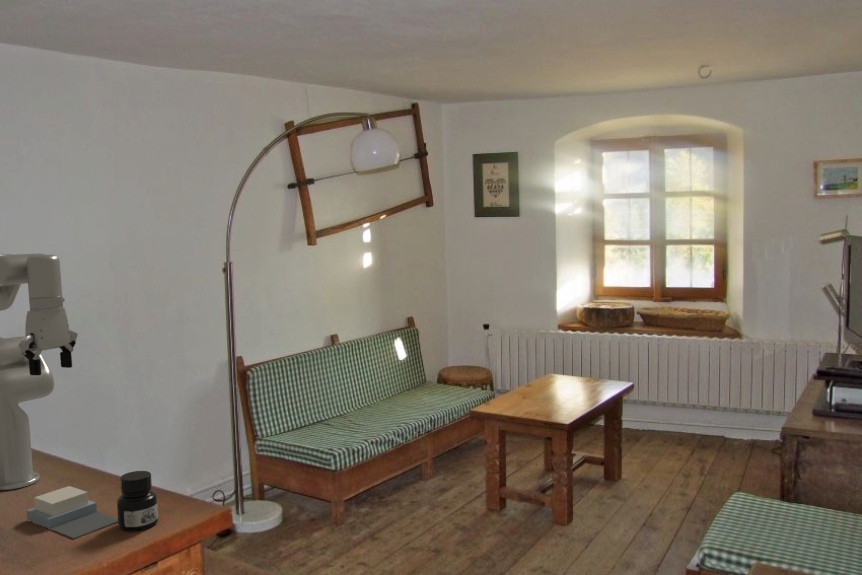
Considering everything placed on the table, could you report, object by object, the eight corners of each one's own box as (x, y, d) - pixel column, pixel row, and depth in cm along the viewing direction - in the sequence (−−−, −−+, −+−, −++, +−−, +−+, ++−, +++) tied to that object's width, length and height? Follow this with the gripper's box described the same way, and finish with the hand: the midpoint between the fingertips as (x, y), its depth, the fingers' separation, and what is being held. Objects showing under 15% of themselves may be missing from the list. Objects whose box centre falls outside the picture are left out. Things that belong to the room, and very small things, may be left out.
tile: (34, 509, 187) (34, 497, 186) (70, 497, 194) (69, 485, 194) (53, 516, 182) (52, 504, 182) (88, 503, 190) (87, 492, 189)
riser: (27, 520, 186) (26, 510, 186) (74, 504, 196) (73, 494, 196) (49, 529, 181) (49, 519, 180) (96, 512, 190) (96, 502, 190)
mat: (50, 529, 180) (50, 528, 180) (97, 512, 190) (97, 511, 190) (73, 539, 175) (73, 538, 175) (121, 521, 185) (120, 520, 185)
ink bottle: (128, 536, 176) (125, 485, 175) (109, 526, 182) (106, 477, 181) (167, 522, 184) (164, 473, 182) (147, 513, 189) (145, 466, 188)
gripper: (62, 300, 202) (67, 364, 204) (5, 308, 186) (11, 377, 188) (84, 300, 200) (89, 365, 201) (28, 308, 184) (34, 378, 185)
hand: (51, 371), depth 195 cm, fingers open, 9 cm apart
